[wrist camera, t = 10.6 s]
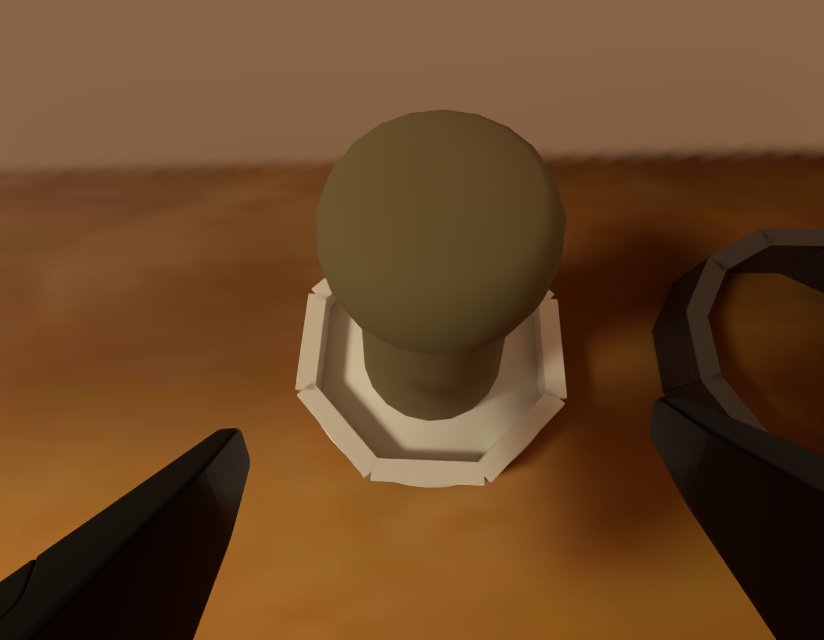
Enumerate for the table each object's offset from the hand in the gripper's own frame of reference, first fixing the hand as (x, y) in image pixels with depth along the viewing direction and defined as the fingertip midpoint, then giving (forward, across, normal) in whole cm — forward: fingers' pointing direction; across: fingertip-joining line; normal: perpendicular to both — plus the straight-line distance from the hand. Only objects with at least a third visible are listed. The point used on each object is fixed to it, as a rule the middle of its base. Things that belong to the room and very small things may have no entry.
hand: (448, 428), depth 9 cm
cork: (+8, 0, +3) cm, 9 cm away
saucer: (+9, 0, +3) cm, 10 cm away
